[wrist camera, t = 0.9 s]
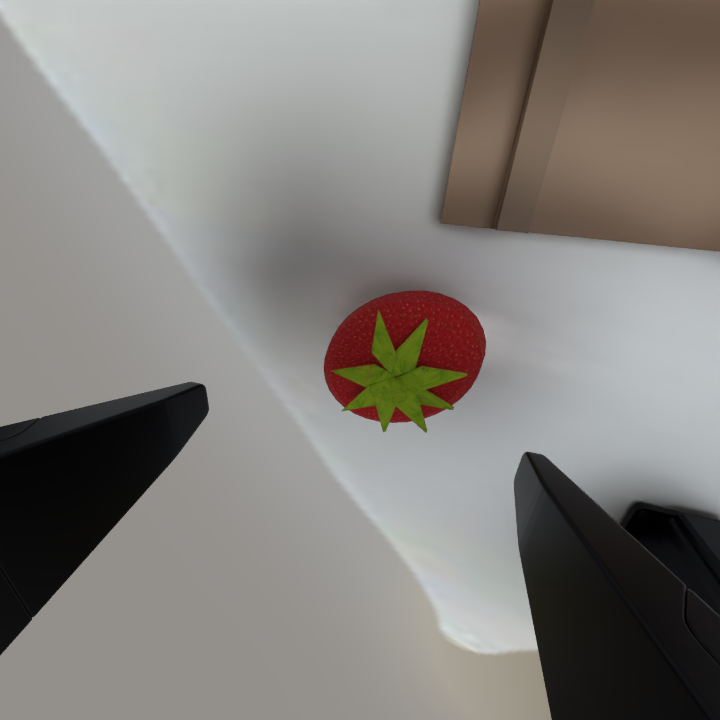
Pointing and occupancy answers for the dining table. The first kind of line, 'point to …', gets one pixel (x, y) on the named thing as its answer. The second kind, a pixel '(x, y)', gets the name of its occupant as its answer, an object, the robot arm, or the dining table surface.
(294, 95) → the dining table surface
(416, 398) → the strawberry
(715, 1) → the stand
